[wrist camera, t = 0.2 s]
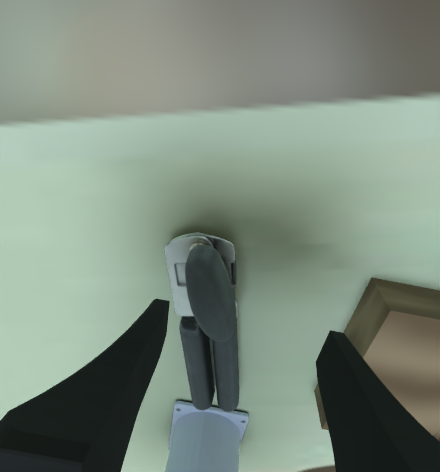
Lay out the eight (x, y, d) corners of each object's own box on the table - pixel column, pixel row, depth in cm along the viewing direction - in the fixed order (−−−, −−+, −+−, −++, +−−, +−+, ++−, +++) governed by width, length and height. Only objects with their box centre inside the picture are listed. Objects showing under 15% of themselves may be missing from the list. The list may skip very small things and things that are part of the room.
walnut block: (402, 404, 30) (422, 447, 27) (313, 387, 30) (321, 428, 27) (484, 296, 24) (525, 335, 20) (369, 274, 24) (390, 310, 20)
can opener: (167, 219, 23) (140, 267, 17) (235, 218, 22) (230, 268, 17) (193, 385, 32) (181, 452, 26) (242, 387, 31) (240, 456, 26)
